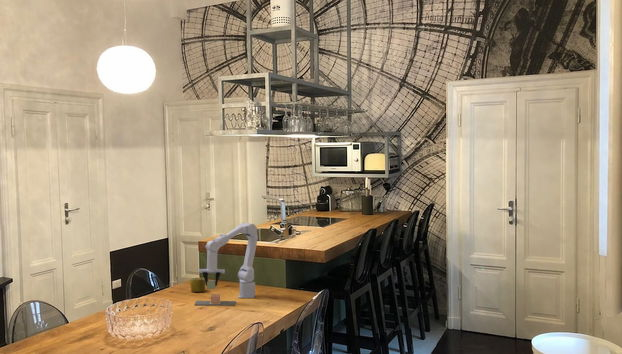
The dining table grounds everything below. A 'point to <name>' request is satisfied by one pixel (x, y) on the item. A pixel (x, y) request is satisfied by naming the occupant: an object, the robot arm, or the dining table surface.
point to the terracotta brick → (215, 298)
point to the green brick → (211, 284)
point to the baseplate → (221, 303)
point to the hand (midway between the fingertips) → (211, 285)
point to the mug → (198, 284)
